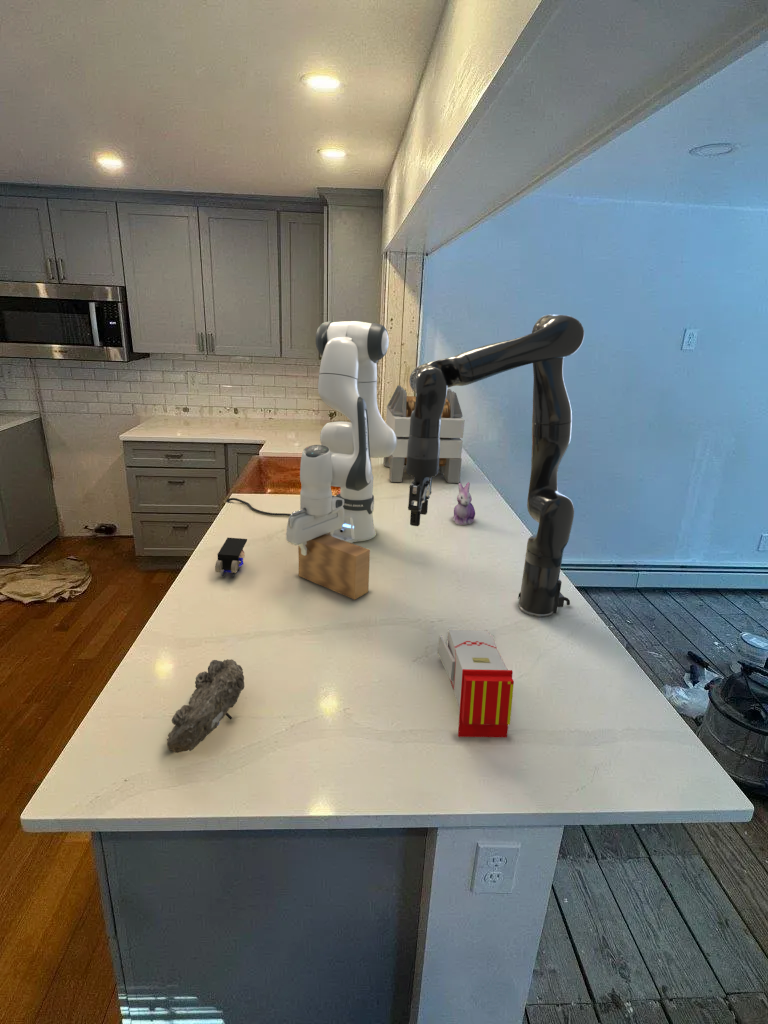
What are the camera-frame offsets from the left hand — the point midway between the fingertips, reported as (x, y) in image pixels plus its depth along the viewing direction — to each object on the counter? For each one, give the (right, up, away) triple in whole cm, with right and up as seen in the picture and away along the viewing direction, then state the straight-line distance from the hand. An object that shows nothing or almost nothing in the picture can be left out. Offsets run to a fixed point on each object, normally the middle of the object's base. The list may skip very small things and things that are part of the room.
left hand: (316, 549), depth 163 cm
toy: (+37, -27, -44) cm, 64 cm away
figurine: (+50, +7, +52) cm, 72 cm away
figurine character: (-25, -6, +5) cm, 27 cm away
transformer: (+37, +30, +112) cm, 122 cm away
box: (+5, -10, -1) cm, 11 cm away
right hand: (+28, +9, -26) cm, 39 cm away
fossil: (-13, -28, -55) cm, 63 cm away
